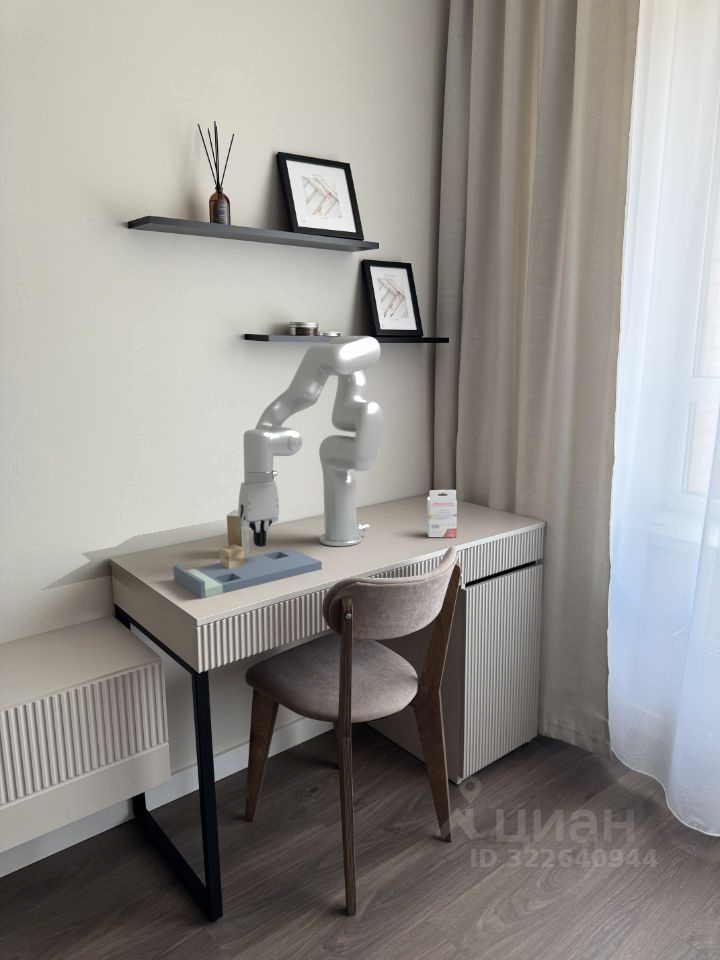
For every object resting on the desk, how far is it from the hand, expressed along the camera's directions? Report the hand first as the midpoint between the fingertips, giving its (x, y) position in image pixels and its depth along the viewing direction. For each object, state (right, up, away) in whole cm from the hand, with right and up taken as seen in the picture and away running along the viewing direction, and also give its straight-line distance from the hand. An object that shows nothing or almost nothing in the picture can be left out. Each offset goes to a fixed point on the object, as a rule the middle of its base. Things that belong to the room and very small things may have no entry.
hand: (260, 545), depth 189 cm
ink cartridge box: (+51, 0, +28) cm, 59 cm away
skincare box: (-7, -4, +12) cm, 15 cm away
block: (-7, -5, -3) cm, 9 cm away
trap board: (-2, -7, -5) cm, 9 cm away
